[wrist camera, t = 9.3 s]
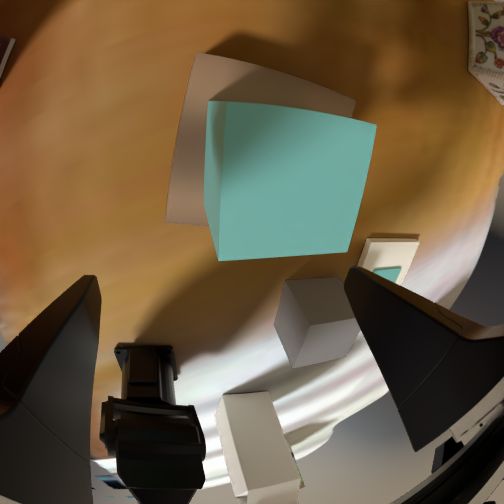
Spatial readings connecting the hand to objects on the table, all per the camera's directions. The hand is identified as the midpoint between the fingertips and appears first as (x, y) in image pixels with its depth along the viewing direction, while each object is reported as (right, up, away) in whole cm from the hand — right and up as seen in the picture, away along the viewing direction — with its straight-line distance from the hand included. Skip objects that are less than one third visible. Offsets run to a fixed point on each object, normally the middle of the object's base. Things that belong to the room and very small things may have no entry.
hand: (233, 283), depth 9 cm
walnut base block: (0, +9, +9) cm, 13 cm away
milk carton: (-1, -22, +28) cm, 36 cm away
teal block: (+1, +7, +6) cm, 9 cm away
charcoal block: (+6, -4, +19) cm, 20 cm away
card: (+15, -2, +20) cm, 25 cm away
